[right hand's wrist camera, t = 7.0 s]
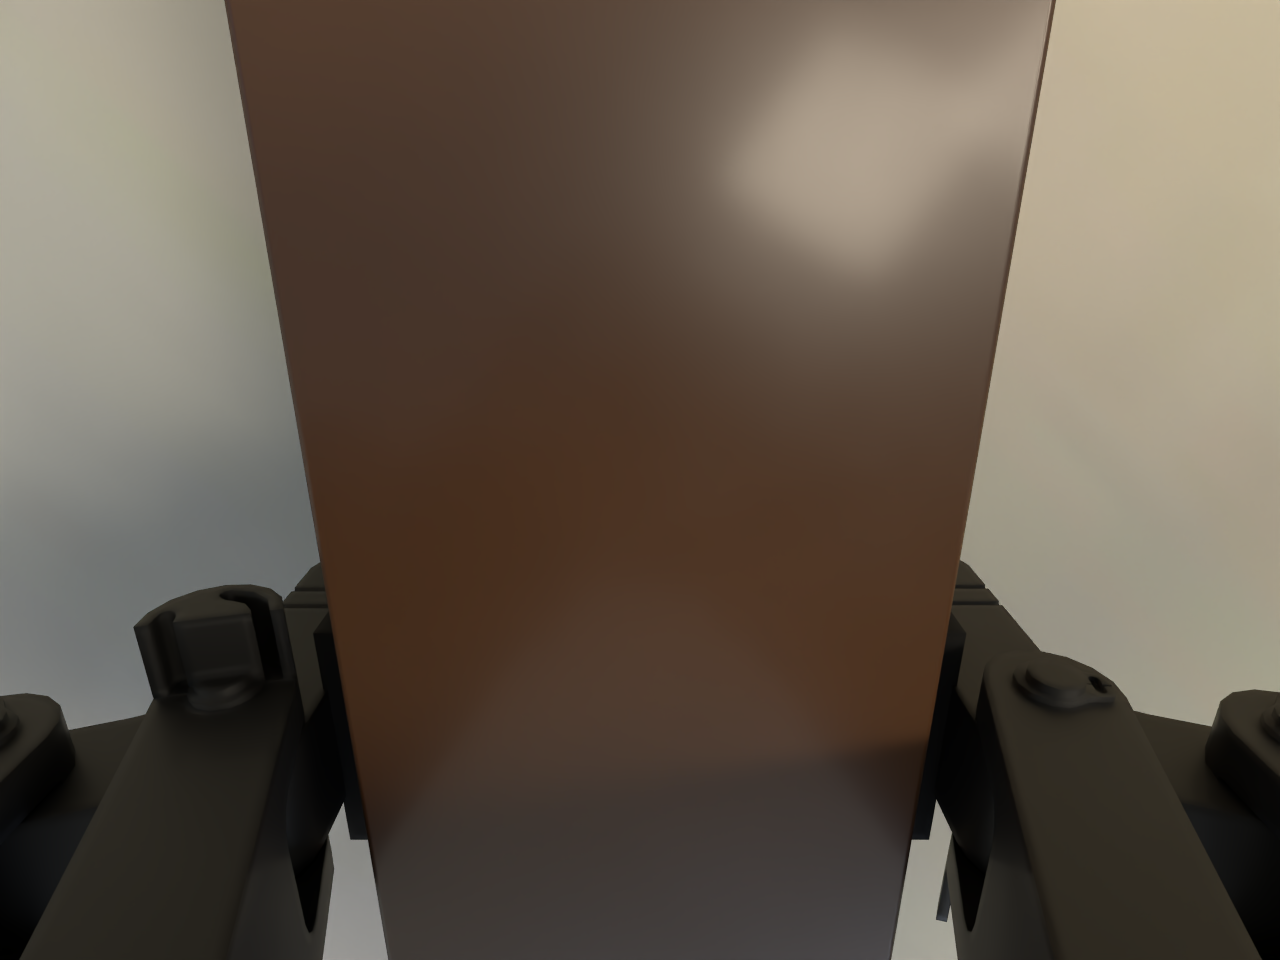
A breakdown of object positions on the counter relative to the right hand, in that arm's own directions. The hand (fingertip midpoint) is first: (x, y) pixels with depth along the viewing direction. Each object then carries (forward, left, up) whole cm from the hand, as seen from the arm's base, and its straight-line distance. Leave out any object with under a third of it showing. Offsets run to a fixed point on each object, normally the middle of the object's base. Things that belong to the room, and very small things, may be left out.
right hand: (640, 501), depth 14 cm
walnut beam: (0, -12, 0) cm, 12 cm away
